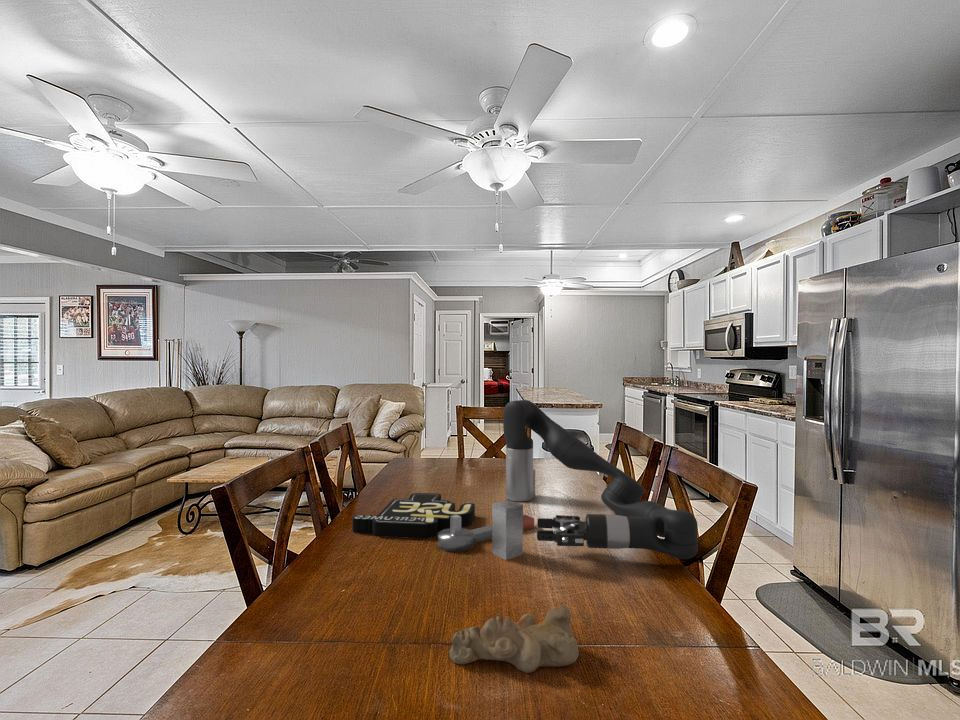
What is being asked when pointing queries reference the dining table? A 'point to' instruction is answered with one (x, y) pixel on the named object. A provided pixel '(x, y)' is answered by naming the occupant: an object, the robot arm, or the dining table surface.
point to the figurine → (519, 641)
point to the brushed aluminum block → (507, 529)
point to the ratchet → (468, 534)
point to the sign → (414, 517)
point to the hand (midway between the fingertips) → (537, 528)
